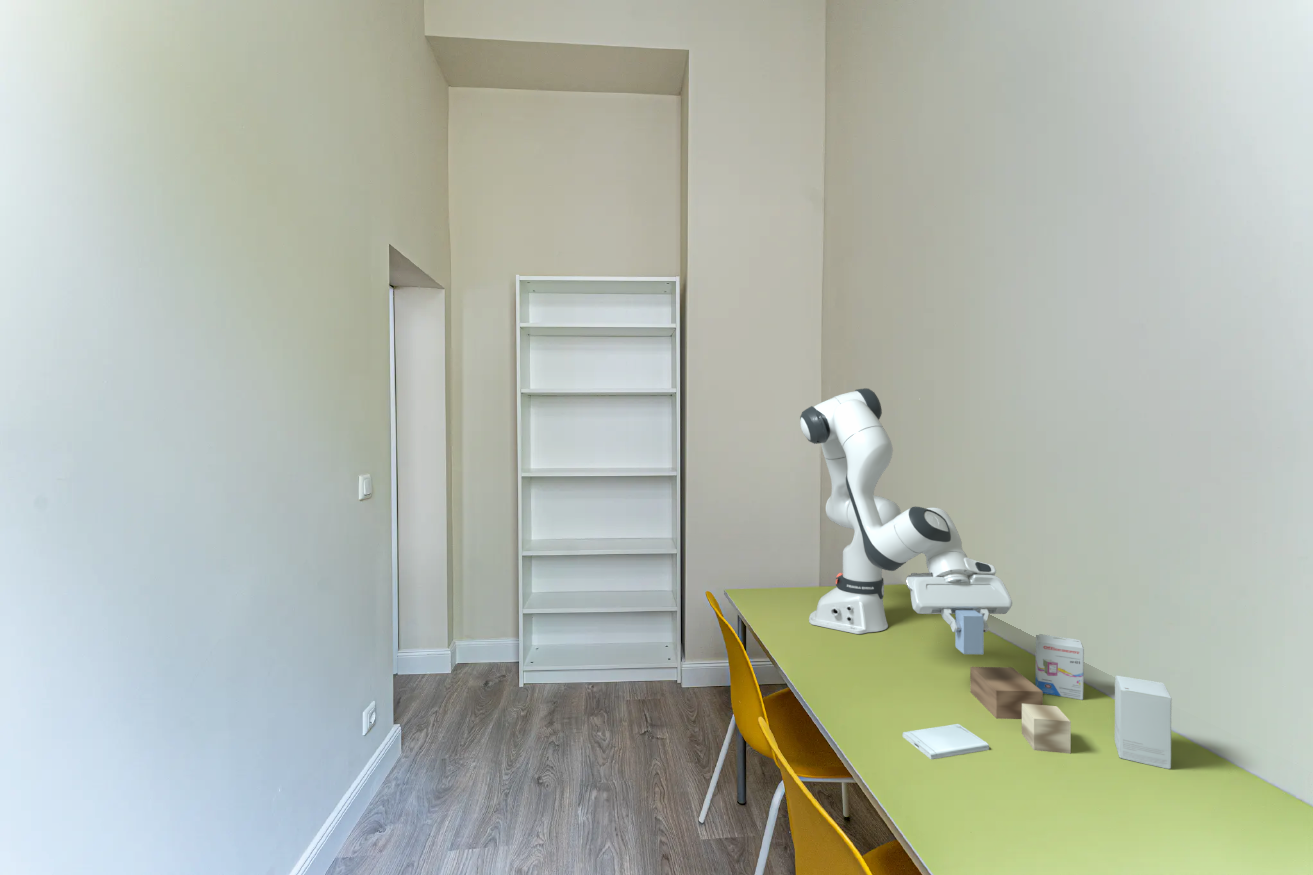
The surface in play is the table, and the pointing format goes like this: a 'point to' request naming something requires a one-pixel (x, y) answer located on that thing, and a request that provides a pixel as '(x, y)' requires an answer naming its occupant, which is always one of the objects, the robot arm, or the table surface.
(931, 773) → the table surface
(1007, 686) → the walnut block
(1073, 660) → the ink box
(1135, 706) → the supplement box
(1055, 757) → the table surface
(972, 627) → the slate post
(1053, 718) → the maple cube
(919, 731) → the hard drive
